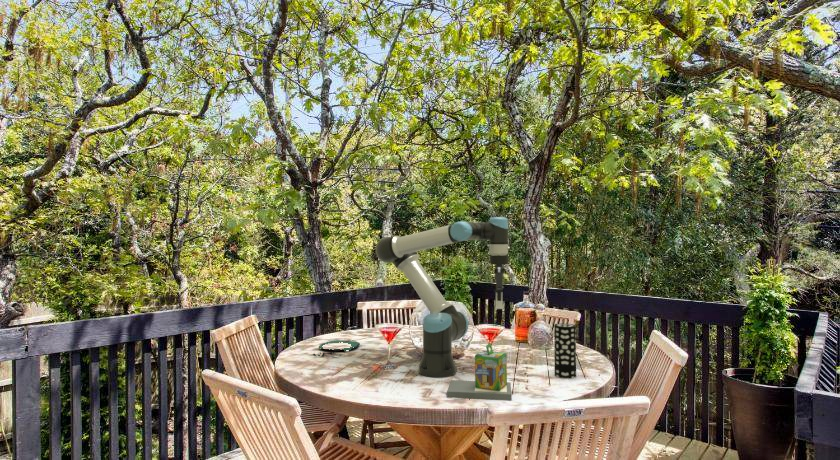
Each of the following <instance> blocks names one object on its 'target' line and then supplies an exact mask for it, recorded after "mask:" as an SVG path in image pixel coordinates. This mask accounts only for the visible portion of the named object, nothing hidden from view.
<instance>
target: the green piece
mask: <svg viewBox="0 0 840 460" xmlns="http://www.w3.org/2000/svg"><path fill="white" fill-rule="evenodd" d="M339 342H340V343H341V342H343V343H348V344H351V346H352V347H350V348H344V349H342V350H344V352H345V351H346V350H350V351H351V350H353V349H357V348H358V347H360V345H361V343H360V342H358V341H356V340H337V339H336V340H331V341H330V340H329V341H326V342H324V343H321V344H319V346H318V349H319V348H321V349H323V347H322V346H323V345H325V344H328V343H339ZM353 347H354V348H353ZM321 349H320V350H321ZM327 350H329V349H325V350H324V351H327ZM330 350H332V349H330ZM333 352H341V351H340V349H334V351H333Z"/></svg>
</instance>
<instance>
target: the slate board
mask: <svg viewBox="0 0 840 460" xmlns="http://www.w3.org/2000/svg"><path fill="white" fill-rule="evenodd" d="M511 385H512V384H511V382H510V381H507V385H506V386H504V387H503V388H502V389H500V390H499V391H498V390H491V389H483V388H476V387H475V380H462V379H461V380H460V379H459V380H458V379H450V381H449V384H448V387H447V390H446V398H452V397H458V398H457V399H475V400H498V401H512V397H513V396H512V386H511Z"/></svg>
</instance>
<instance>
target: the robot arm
mask: <svg viewBox="0 0 840 460" xmlns="http://www.w3.org/2000/svg"><path fill="white" fill-rule="evenodd" d="M465 241H466V242H467V241H489V254H490V255H489V264H490V265H492V266H493V265H495V268H494V269H493V274H494V279H495V289H494V291H493V293H495V310H503V309H504V308H503V306H504V305H503V303H504V302H503V295H504V294H503V292H504V291H503V290H504V287H505V286H504V285H503V279H504V273H505V269H504V268H503V266H502V265H508V264H509V256H508V254H509V249H510V248H511V247H510V246H509V221H508V218H507V217H505V216H504V217H503V216H494V217H490V218H489V221H486V222H477V221H473V222H472V221H463V220H461V221H456V222H454V223H453V224H448V225H443V226H440V227H435V228H432V229H428V230H424V231H420V232H416V233H412V234H408V235H404V236H402V235H394V236H385V237H382V238H380V240H379V241H378V242H377V244H376V246H375V254H376V257H377V258H378V259H379V260H380V261H382V262H384V263H387V264H392V263H393V266H395V268H396V270H397V271H401V272H403V274H404V276H405V277H406V278H407V280H408V281H409V283H410V284H411V286H412V287H413V289H414V291H416V294H417V295H418V296H419V298H420V299H421V301H422V303H423V304H424V305H425V306H426V308H427V310H428V311H429V313H430V314H427V315H426V316H424V318H423V321H422V322H423V323H422V336H423V337H422V343H423V344H422V346H423V347H422V350H423V351H422V352H423V353H422V357H421V360H420V363H419V368H418V372H419V374H420V375H421V374H422V376H424V377H430V378H447V377H451V376H454V375H456V373H457V366H456V363H455V360H454V356H453V351H452V350H453V349H452V346H453V345H452V344H453V343H452V342H455V341H457V340H460V339H462V338H463V337H464V336H466V334H467V333H468V330H469V320H468V317H467V316H466V315H465V313H464V312H461V311H459V310H457V309H456V307H455V306H454V304H452V303H449V302H447V300H446V299H445V297H444V296H443V294H442V293H441V292H440V289H438V287H437V286H436V284H435V283H434V281H433V280H432V278H431V277H430V275H429V274H428V272H427V271H426V270H425V268H424V267H423V266H422V264H421V262H420V261H419V257H420V255H419V254H418V252H420V251H424V250H430V249H433V248H438V247H442V246H448V245H451V244H455V243H459V242H460V243H461V242H465Z"/></svg>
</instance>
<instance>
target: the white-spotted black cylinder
mask: <svg viewBox="0 0 840 460" xmlns="http://www.w3.org/2000/svg"><path fill="white" fill-rule="evenodd" d="M553 330H554V332H553V333H554V340H553V341H554V346H553V347H554V349H553V350H554V376H555V377H557V378H560V379H574V377H575V378H576V377H577V325H575V324H573V323H565V322H564V323H555V324H554V326H553Z"/></svg>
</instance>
